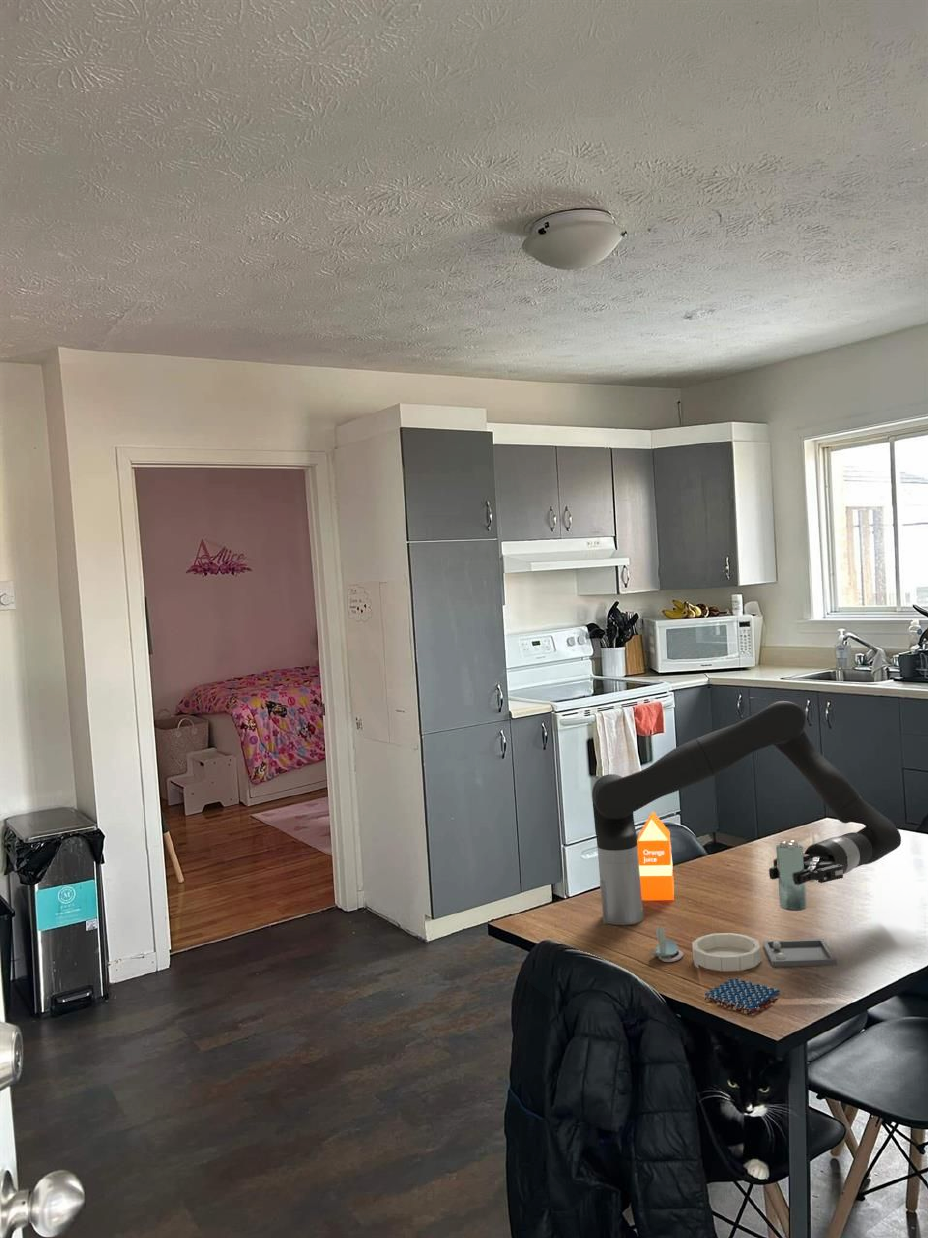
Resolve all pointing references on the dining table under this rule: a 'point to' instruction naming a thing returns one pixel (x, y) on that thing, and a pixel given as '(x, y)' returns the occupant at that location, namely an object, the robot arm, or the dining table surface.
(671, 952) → the pacifier
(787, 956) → the parts tray
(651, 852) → the orange juice
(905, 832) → the dining table surface
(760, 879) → the dining table surface
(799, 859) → the teal cylinder
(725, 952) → the bowl
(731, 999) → the woven mat
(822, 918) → the dining table surface
